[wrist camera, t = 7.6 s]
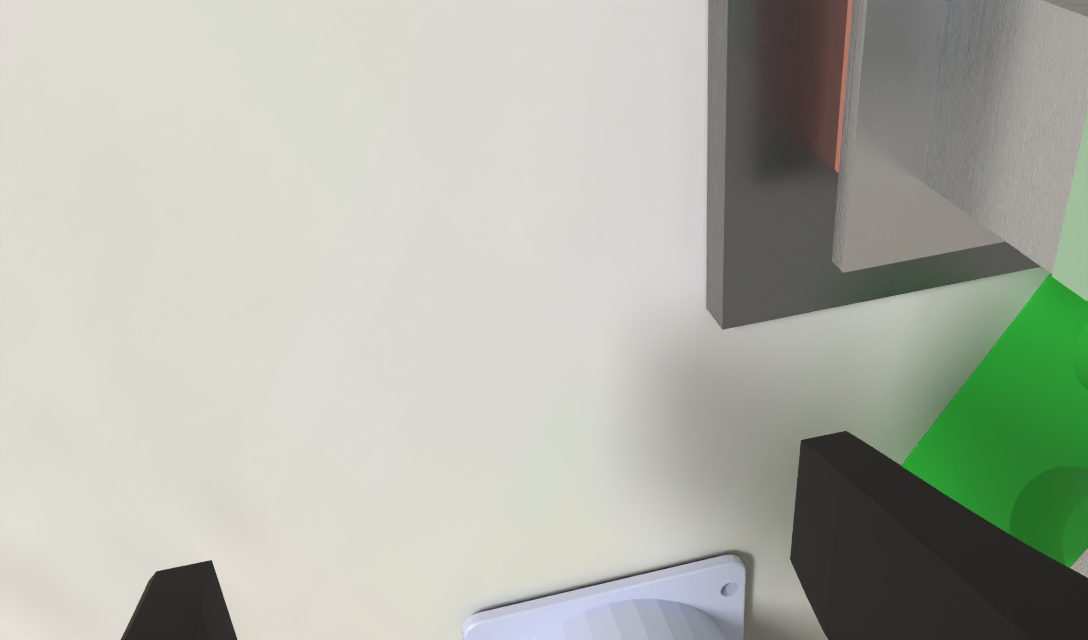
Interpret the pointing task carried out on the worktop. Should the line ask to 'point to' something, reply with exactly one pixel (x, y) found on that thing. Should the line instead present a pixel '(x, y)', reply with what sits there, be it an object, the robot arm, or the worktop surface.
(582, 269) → the worktop surface
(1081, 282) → the green-striped metal cube
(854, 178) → the dark grey rectangular tray
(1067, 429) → the mechanical part
